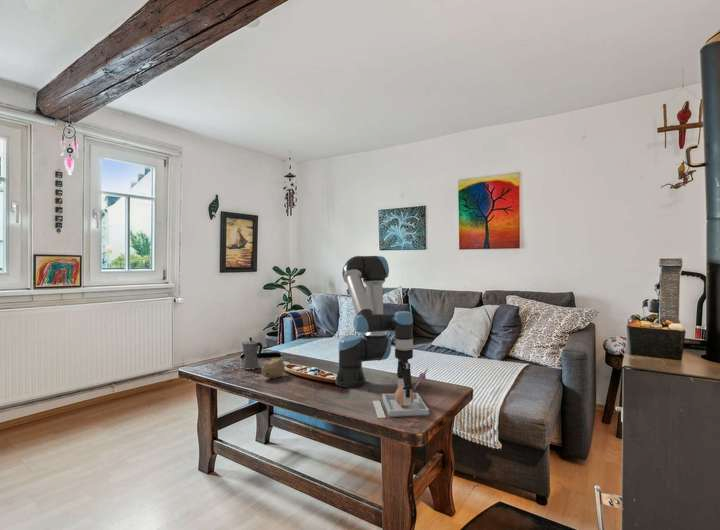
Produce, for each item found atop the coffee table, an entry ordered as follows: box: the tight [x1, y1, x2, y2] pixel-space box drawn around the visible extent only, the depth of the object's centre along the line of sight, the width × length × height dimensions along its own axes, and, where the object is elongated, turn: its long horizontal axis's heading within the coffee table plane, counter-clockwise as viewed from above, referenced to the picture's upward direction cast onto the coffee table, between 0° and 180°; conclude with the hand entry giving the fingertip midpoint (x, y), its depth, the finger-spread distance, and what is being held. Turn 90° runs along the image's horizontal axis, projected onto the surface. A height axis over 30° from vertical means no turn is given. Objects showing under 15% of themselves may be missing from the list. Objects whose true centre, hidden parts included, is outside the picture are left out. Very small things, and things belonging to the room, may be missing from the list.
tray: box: [381, 392, 430, 418], centre depth 157 cm, size 20×16×2 cm
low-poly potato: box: [260, 357, 286, 379], centre depth 199 cm, size 15×11×12 cm
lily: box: [413, 368, 432, 390], centre depth 181 cm, size 12×12×10 cm
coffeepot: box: [241, 336, 264, 369], centre depth 218 cm, size 15×9×18 cm, turn 62°
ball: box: [394, 386, 414, 407], centre depth 157 cm, size 8×8×8 cm
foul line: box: [372, 400, 387, 419], centre depth 154 cm, size 18×3×1 cm, turn 4°
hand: (404, 399), depth 157 cm, fingers open, 13 cm apart
